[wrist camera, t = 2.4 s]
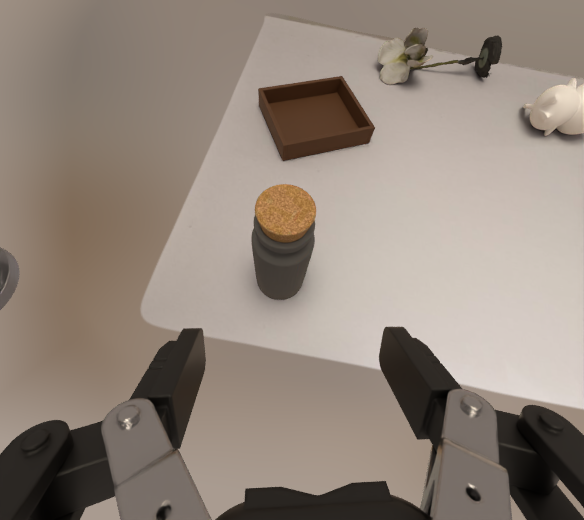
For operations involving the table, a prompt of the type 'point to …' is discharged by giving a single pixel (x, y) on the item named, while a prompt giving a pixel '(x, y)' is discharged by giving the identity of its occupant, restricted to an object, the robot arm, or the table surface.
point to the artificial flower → (412, 55)
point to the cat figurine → (559, 109)
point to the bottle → (283, 239)
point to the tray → (314, 117)
